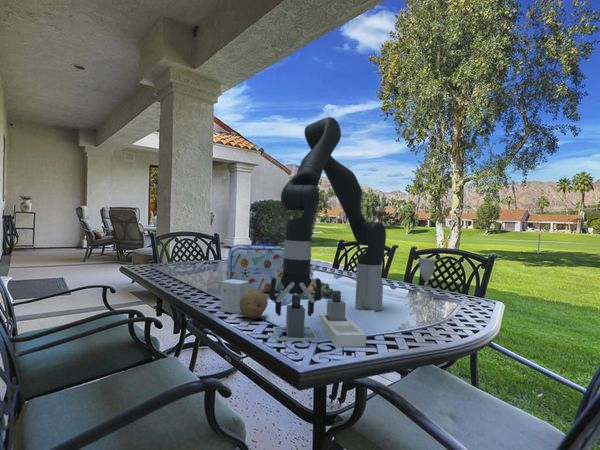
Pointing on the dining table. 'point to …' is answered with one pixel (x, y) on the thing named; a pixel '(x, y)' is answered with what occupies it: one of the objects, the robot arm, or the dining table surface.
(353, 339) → the cream socket block
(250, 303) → the natural sponge
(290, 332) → the plug
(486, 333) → the dining table surface
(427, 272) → the chalice
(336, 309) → the seated twin plug
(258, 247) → the lunch box
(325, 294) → the plated dish
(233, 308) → the small box
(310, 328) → the tray
